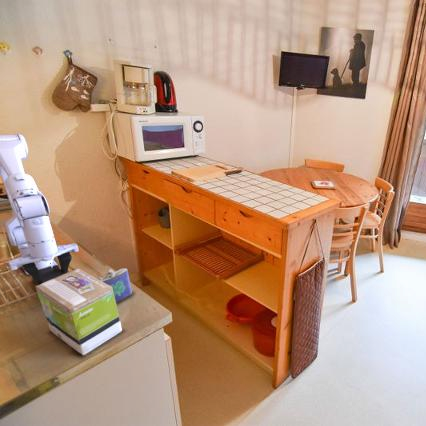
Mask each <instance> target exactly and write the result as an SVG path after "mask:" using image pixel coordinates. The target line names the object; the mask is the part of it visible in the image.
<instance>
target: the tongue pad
mask: <svg viewBox="0 0 426 426" xmlns="http://www.w3.org/2000/svg"><path fill="white" fill-rule="evenodd" d="M39 270H41V272H42V273H47V272H50V271H53V267H51V266H49V267H46V268H43V269H39ZM31 278H32V282H33V284H35V286H38V282H37V281H36V280H35V279H34V278H33V277H32V276H31Z"/></svg>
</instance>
